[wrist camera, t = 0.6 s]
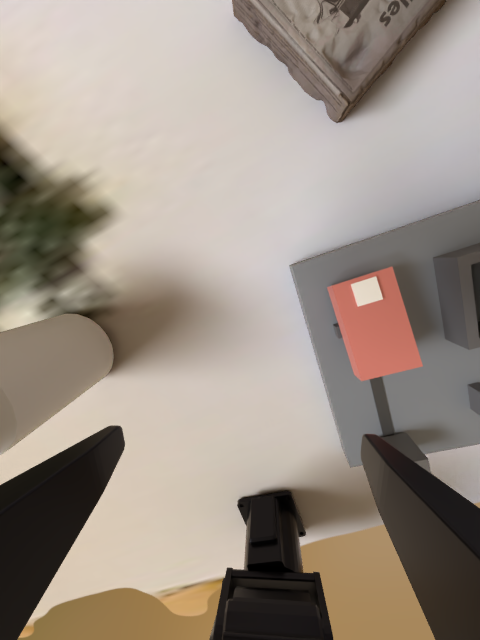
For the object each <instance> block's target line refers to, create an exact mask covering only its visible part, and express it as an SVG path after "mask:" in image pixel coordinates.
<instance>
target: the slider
mask: <svg viewBox="0 0 480 640" xmlns="http://www.w3.org/2000/svg"><path fill="white" fill-rule="evenodd" d="M382 439H383V440H385V441H386V442H388V443H389V444H390V445H392V446H393V447H395V448H396V449H397V450H399V451H400V452H402V453H403V454H404V455H406V456H407V457H408V458H410V459H411V460H413V461H414V462H415V463H417V464H418V465H420V466H421V467H422V468H424V469H425V470H427V471H428V472H429V473H431V471H430V466H429V461H428V458H427V457H426V456H425V455H424V454H423V452H422V451H421V450H420V449H419V447H418V446H417V445H416V444H415V443H414V441H413V440H412V439H411V438H410V436H409V435H408V434H407V433H402V434H397V435H392V436H387V437H382Z"/></svg>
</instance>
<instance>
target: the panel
mask: <svg viewBox="0 0 480 640" xmlns="http://www.w3.org/2000/svg"><path fill="white" fill-rule="evenodd" d="M389 267H393V270H394V273H395V277H396V280H397V283H398V286H399V290H400V293H401V296H402V299H403V303H404V306H405V309H406V312H407V316H408V319H409V322H410V325H411V329H412V332H413V335H414V339H415V342H416V345H417V348H418V352H419V355H420V358H421V361H422V365H423V366H422V367H418V368H414V369H410V370H406V371H402V372H397V373H393V374H389V375H385V376H381V377H377V378H373V379H369V380H364V381H361V380H360V379H359V378H357V377H356V376H355V375H354V372H353V369H352V366H351V363H350V360H349V356H348V353H347V350H346V347H345V344H344V340H343V337H342V334H341V331H340V328H339V324H338V321H337V318H336V315H335V312H334V308H333V305H332V302H331V299H330V296H329V292H328V289H327V287H330V286H333V285H336V284H339V283H342V282H345V281H348V280H351V279H354V278H358V277H361V276H364V275H367V274H370V273H373V272H376V271H380V270H383V269H386V268H389ZM290 270H291V273H292V276H293V280H294V283H295V287H296V290H297V294H298V297H299V300H300V304H301V307H302V311H303V314H304V318H305V321H306V324H307V328H308V331H309V335H310V338H311V342H312V345H313V348H314V352H315V355H316V359H317V362H318V365H319V369H320V372H321V376H322V379H323V383H324V386H325V389H326V393H327V396H328V400H329V403H330V407H331V410H332V413H333V417H334V420H335V424H336V427H337V431H338V434H339V437H340V441H341V444H342V448H343V451H344V453H345V456H346V458H347V461H348V463H349V465H350V467H356V466H361V465H363V463H362V460H361V443H362V436H363V435H364V434H376V435H378V436H379V437H381V438H382V437H387V436H392V435H397V434H402V433H407V434H408V435H409V436H410V438H411V439H412V440H413V441H414V443H415V444H416V445H417V446H418V447H419V449H420V450H421V451H422V452H423V454H428V453H433V452H439V451H444V450H450V449H455V448H461V447H466V446H472V445H477V444H480V200H478V201H475V202H472V203H469V204H466V205H463V206H461V207H458V208H455V209H452V210H449V211H446V212H443V213H440V214H437V215H434V216H432V217H429V218H426V219H423V220H420V221H417V222H414V223H411V224H408V225H406V226H403V227H400V228H397V229H394V230H391V231H388V232H385V233H382V234H379V235H377V236H374V237H371V238H368V239H365V240H362V241H359V242H356V243H353V244H350V245H348V246H345V247H342V248H339V249H336V250H333V251H330V252H327V253H324V254H321V255H319V256H316V257H313V258H310V259H307V260H304V261H301V262H298V263H295V264H292V265H290Z"/></svg>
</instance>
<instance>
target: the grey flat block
mask: <svg viewBox="0 0 480 640" xmlns="http://www.w3.org/2000/svg"><path fill="white" fill-rule="evenodd" d="M444 2H446V1H445V0H232V4H233V12H234V16H235V17H236V18H237V19H238V20H239V21H240V22H242V23H243V24H244V26H245V27H246V29H247V30H248V32H249V33H250V34H251V35H252V36H253V37H254V38H255V39H256V40H257V41H258V42H260V43H261V44H263V45H265V46H267V47H268V48H269V49H270V50H271V51H272V52H273V53H274V55H275V57H276V58H277V59H278V60H279V61H281V62H283V63H284V64H285V65H286V66H287V67H288V71H289V73H290V75H291V76H292V77H293V78H294V80H296V81H297V82H298V84H299V85H300V86H301V87H302V89H303V90H304V91H305V92H306V93H308V94H309V95H310V96H311V97H313V98H314V99H316V100H322V101H324V103H325V106H326V110H327V114H328V116H329V117H330V119H332V120H333V121H334V122H336V123H338V122H342V121H343V119H344V118H345V117H346V116H347V114H348V113H349V112H350V111H351V110H352V108H353V107H355V105H356V104H357V102H358V101H359V100H360V99H361V98H362V96H363V95H364V94H365V93H366V92H367V90H368V89H369V88H370V87H371V85H372V84H373V83H374V82H375V81H376V79H378V78H379V76H380V75H381V74H383V73H384V72H385V71H386V70H387V68H389V67H390V65H391V64H392V61H393V60H394V58H395V56H396V55H397V54H398V53H399V52H400V51H401V50H402V48H403V47H404V46H405V45H406V43H407V42H408V41H409V40H410V39H411V38H412V37H413V36H414V35H415V34H416V32H417V31H418V30H419V29H421V28H422V27H423V26H424V25H425V24H426V23H427V22H428V21H429V20H430V18H431V16H432V14H433V13H435V12H437V11H438V10H439V9H440V8H441V7H442V6H443V4H444Z"/></svg>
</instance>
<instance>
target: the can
mask: <svg viewBox="0 0 480 640" xmlns="http://www.w3.org/2000/svg"><path fill="white" fill-rule="evenodd" d="M113 359H114V354H113V347H112V344H111V342H110V340H109V338H108V336H107V334H106V333H105V332H104V331H103V329H102V328H101V327H100V326H99V325H98V324H96V323H95V322H94V321H92V320H91V319H89V318H87V317H84V316H81V315H79V314H63V315H59V316H56V317H52V318H49V319H45V320H42V321H38V322H35V323H31V324H28V325H24V326H21V327H17V328H14V329H10V330H7V331H3V332H0V455H1V454H3V453H4V452H6V451H7V450H9V449H10V448H11V447H13V446H14V445H15V444H17V443H18V442H19V441H21V440H22V439H23V438H25V437H26V436H27V435H29V434H30V433H31V432H33V431H34V430H35V429H37V428H38V427H39V426H41V425H42V424H43V423H44V422H46V421H47V420H48V419H50V418H51V417H52V416H54V415H55V414H56V413H58V412H59V411H60V410H62V409H63V408H64V407H66V406H67V405H68V404H70V403H71V402H72V401H74V400H75V399H76V398H77V397H79V396H80V395H81V394H83V393H84V392H85V391H87V390H88V389H89V388H91V387H92V386H93V385H95V384H96V383H97V382H99V381H100V380H101V379H103V378H104V377H105V376H107V374H108V373H109V371H110V370H111V368H112V364H113Z"/></svg>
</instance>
